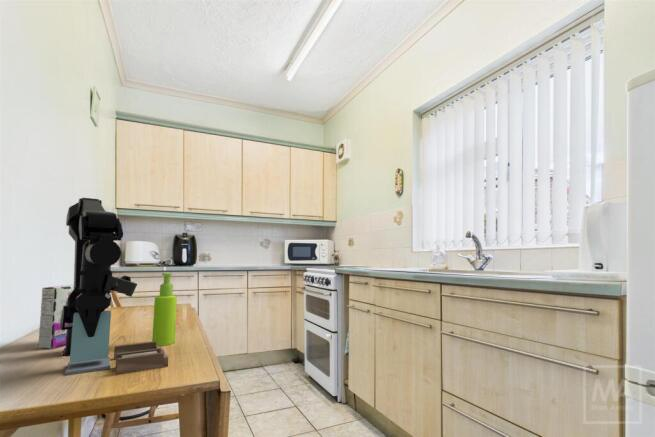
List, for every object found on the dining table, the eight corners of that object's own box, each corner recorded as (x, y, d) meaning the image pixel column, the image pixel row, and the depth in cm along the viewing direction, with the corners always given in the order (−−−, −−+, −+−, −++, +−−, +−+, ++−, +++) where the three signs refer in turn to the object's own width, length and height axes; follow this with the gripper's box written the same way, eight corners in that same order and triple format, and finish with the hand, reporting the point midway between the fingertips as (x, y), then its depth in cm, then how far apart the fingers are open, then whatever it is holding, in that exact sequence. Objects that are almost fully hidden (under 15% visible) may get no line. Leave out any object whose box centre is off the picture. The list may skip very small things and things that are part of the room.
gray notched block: (120, 369, 77) (121, 355, 78) (159, 363, 81) (160, 350, 82) (121, 372, 75) (122, 358, 76) (160, 366, 79) (161, 352, 80)
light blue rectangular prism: (70, 358, 78) (74, 312, 79) (107, 353, 82) (110, 310, 83) (69, 362, 75) (73, 315, 76) (107, 357, 79) (111, 312, 80)
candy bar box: (73, 339, 105) (78, 283, 106) (87, 339, 104) (91, 284, 105) (35, 348, 94) (41, 286, 95) (51, 349, 93) (56, 287, 94)
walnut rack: (114, 358, 85) (114, 345, 85) (159, 352, 90) (159, 340, 90) (116, 374, 73) (117, 359, 74) (167, 366, 79) (168, 352, 79)
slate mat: (67, 365, 79) (68, 362, 79) (109, 359, 84) (109, 357, 84) (65, 375, 73) (65, 372, 73) (110, 368, 77) (110, 365, 77)
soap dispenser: (172, 339, 105) (175, 272, 107) (176, 344, 99) (179, 273, 101) (150, 341, 102) (154, 272, 104) (153, 346, 96) (157, 273, 98)
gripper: (139, 266, 77) (135, 338, 76) (132, 264, 93) (128, 324, 91) (78, 267, 71) (71, 345, 69) (81, 265, 87) (76, 329, 85)
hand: (91, 335), depth 79 cm, fingers closed on light blue rectangular prism, 4 cm apart
